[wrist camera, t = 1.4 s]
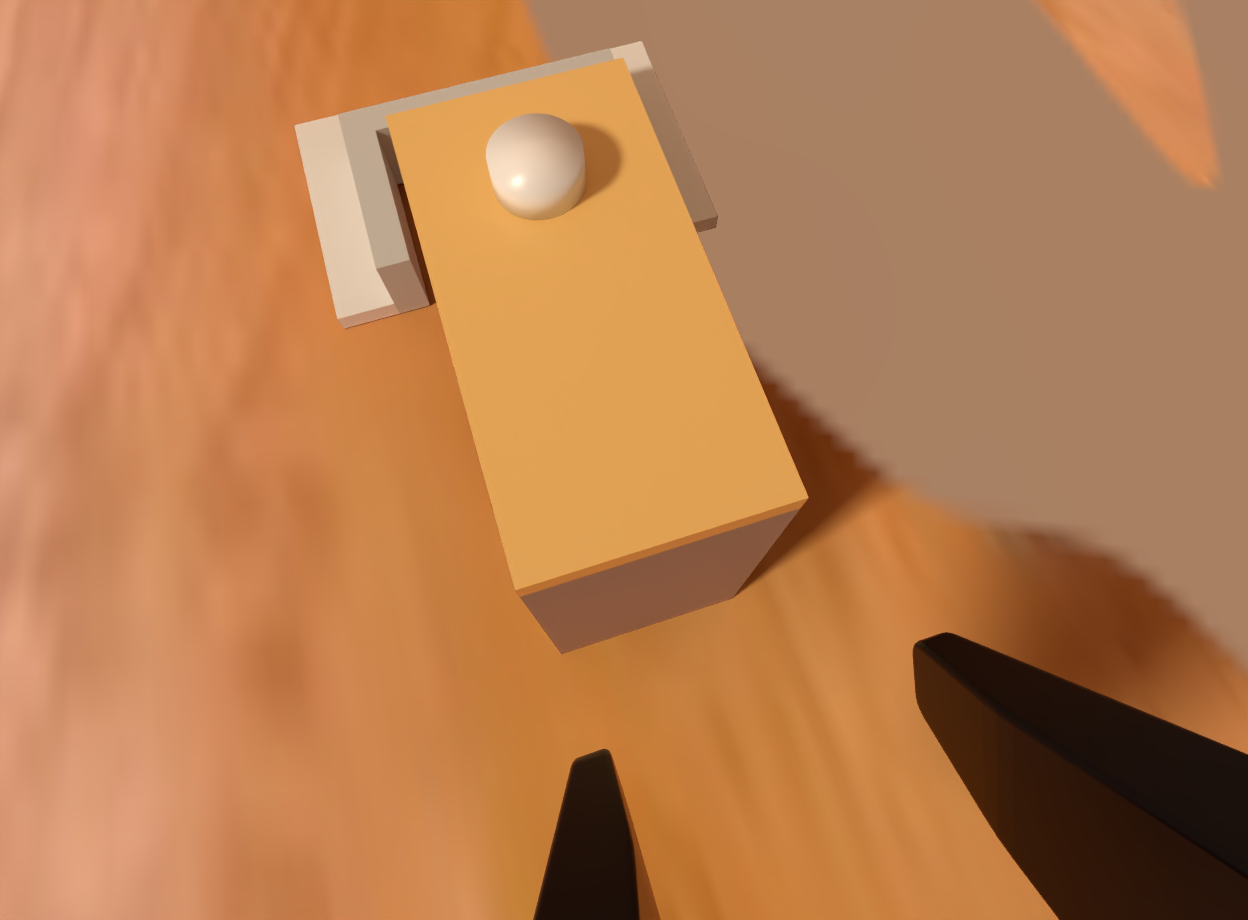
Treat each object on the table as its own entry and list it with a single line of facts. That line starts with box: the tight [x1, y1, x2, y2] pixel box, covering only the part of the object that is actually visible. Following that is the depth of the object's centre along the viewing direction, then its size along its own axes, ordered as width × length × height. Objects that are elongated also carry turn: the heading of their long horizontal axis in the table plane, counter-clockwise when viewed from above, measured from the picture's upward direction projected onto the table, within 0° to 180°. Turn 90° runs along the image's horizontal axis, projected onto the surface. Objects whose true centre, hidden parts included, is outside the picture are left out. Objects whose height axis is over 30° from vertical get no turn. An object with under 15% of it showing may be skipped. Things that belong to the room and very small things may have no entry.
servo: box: [385, 58, 809, 654], centre depth 18 cm, size 10×5×10 cm, turn 18°
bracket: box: [295, 41, 718, 329], centre depth 25 cm, size 8×13×2 cm, turn 108°
